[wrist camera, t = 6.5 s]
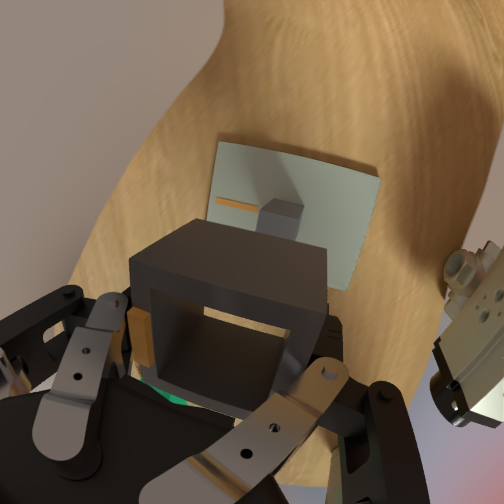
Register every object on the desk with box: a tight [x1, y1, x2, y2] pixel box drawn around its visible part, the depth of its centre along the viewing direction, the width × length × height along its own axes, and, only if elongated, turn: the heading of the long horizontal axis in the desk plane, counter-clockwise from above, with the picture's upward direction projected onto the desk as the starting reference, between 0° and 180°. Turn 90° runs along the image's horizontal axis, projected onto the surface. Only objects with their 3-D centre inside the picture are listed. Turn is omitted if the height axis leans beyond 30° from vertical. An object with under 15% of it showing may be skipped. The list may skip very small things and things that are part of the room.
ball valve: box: [430, 241, 504, 428], centre depth 15 cm, size 18×8×18 cm, turn 154°
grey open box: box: [127, 218, 327, 420], centre depth 11 cm, size 6×6×5 cm
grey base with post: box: [206, 141, 381, 292], centre depth 24 cm, size 16×12×7 cm
